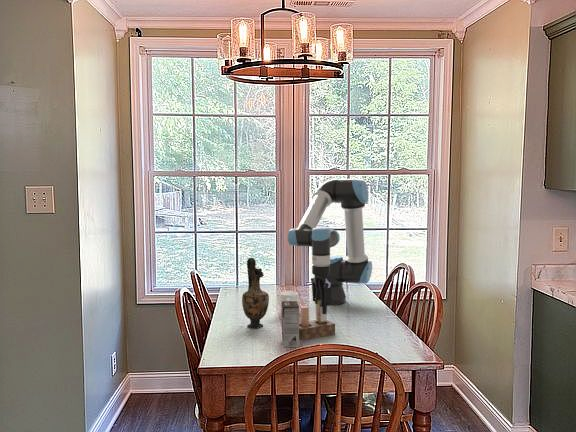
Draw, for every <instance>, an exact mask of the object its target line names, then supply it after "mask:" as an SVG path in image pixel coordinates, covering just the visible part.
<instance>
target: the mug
mask: <svg viewBox="0 0 576 432" xmlns="http://www.w3.org/2000/svg"><path fill="white" fill-rule="evenodd" d="M279 295H280V315H281V316H282V303H281V302H282V301H297V303H298V304H299V293H298V292H297V291H290V290H287V291H281V292H280V294H279Z"/></svg>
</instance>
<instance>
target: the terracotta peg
mask: <svg viewBox="0 0 576 432" xmlns="http://www.w3.org/2000/svg"><path fill="white" fill-rule="evenodd" d="M309 312H310V311H309V306H305V305H304V306H301V307H300V322H301V327H309V321H310V317H309V316H310V313H309Z"/></svg>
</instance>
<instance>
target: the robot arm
mask: <svg viewBox="0 0 576 432" xmlns="http://www.w3.org/2000/svg"><path fill="white" fill-rule="evenodd" d="M368 201H369V190H368V185H367V183H366V181H365V180H364V179H361V178H333V179H329V180H326V181H325V182H323V183H322V184H320V185H319V186H318V187H317V188H316V189H315V191H314V193H313V194H312V199H311V202H310V204H309V206H308V207H307V209H306V211H305V213H304V214H303V217H302V219H301V220H300V222H299V224H298V225H297V227H296V228H291V229H289V230H288V233H287V241H288V244H289V246H295V247H310V248H311V257H312V258H311V260H312V261H311V263H312V266H311V273H312V275H314V277H311V278H310V281H311V282H310V283H311V290H312V291H311V292H312V293H311V295H312V301H313V302H314V304H315V320H318V300H321V305H320V321H321V322H323V321H327V320H328V318H327V316H328V306H331V305H342V304H344V303H346V302H347V297H346V293H345V290H344V287H343V284H344V283H349V284H358V285H361V284H364V285H365V284H369V282H370V280H371V276H372V272H373V262H372V261H370V260H369V257H368V255H367V254H365V238H364V237H365V236H364V222H363V221H364V220H363V219H364V217H363V209H364V208H365V206H366V204H367V203H368ZM333 203H336V204H337V203H338V204H340V208H342V209H343V210H344V221H345V222H344V223H345V224H344V225H345V237H346V248H347V249H346V251H347V255H346V256H345V257H343V256H342V255H341V256H340V255H333V256H331V248H333V247H335V246H337V245H338V244H339V242H340V241H341V239H340V238H341V237H340V234H339V232H338V231H337V230H336V229H332V228H331V229H330V228H328V227H324V226H323V227H318V224H319V223H320V222H321V221H320V220H321V219H322V217H323V215H324V213H325V211H326V209H327V207H330V206H331V204H333Z"/></svg>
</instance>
